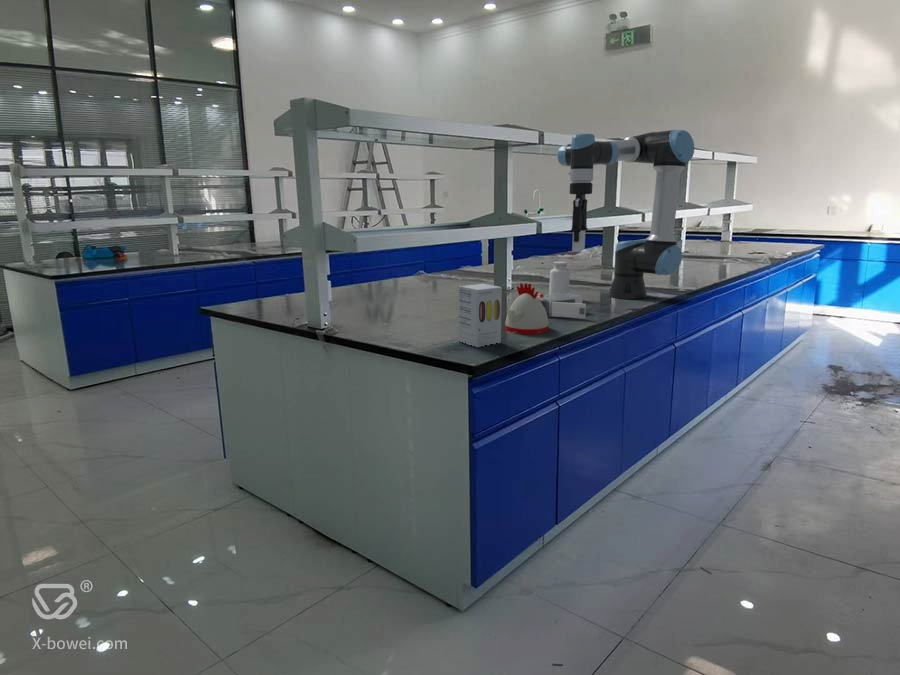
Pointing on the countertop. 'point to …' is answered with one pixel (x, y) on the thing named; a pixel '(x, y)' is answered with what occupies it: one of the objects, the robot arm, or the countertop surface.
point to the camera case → (558, 299)
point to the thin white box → (567, 309)
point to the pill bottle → (559, 278)
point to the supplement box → (480, 314)
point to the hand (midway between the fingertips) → (578, 250)
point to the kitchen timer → (527, 313)
